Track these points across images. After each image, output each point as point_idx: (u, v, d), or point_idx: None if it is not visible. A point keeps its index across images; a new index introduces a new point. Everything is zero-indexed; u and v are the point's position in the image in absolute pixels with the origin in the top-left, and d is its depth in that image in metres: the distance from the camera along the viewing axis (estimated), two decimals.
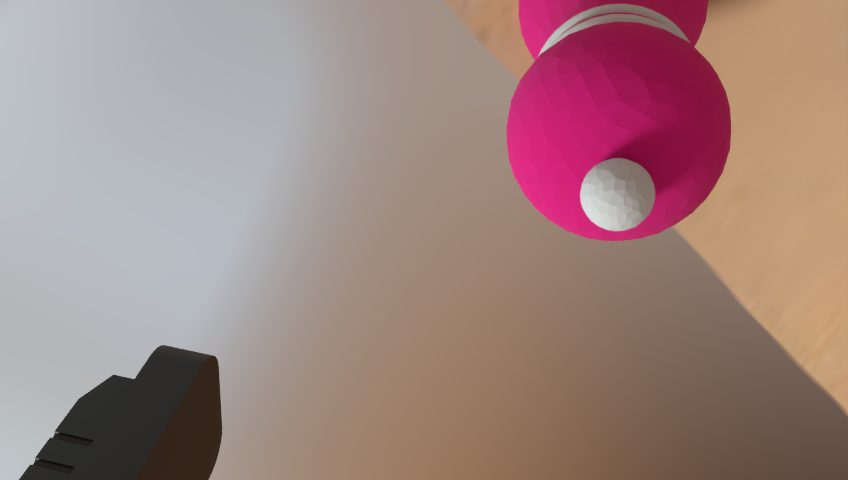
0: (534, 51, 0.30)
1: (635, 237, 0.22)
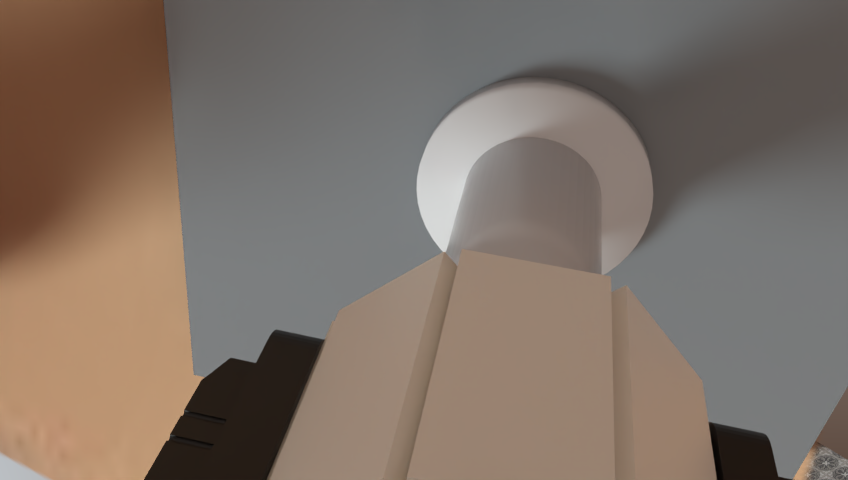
0: None
1: None
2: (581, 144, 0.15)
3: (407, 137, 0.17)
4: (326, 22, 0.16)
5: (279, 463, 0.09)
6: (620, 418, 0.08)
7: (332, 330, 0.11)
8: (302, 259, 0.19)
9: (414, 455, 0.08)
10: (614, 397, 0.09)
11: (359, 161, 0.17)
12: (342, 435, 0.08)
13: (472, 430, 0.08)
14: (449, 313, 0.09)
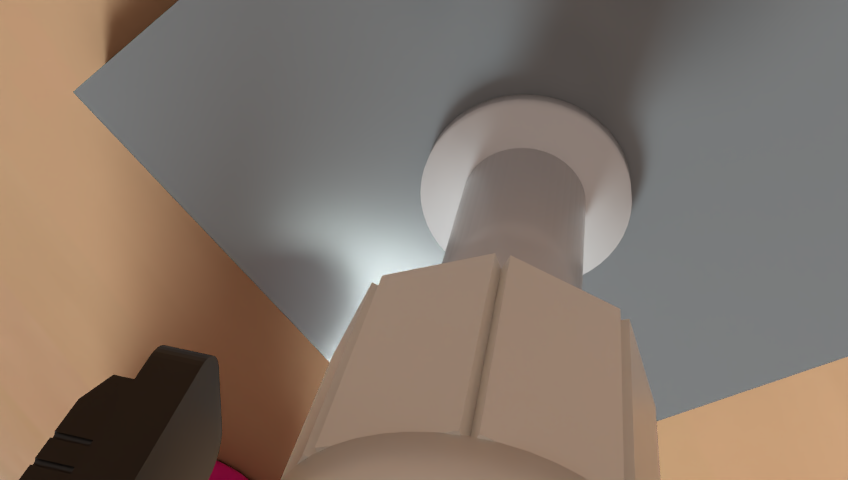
0: None
1: None
2: (514, 140, 0.17)
3: (419, 223, 0.20)
4: (309, 191, 0.20)
5: (339, 395, 0.10)
6: (624, 424, 0.10)
7: (377, 292, 0.12)
8: None
9: (481, 418, 0.09)
10: None
11: (408, 261, 0.21)
12: (407, 387, 0.10)
13: (524, 408, 0.10)
14: (504, 308, 0.11)
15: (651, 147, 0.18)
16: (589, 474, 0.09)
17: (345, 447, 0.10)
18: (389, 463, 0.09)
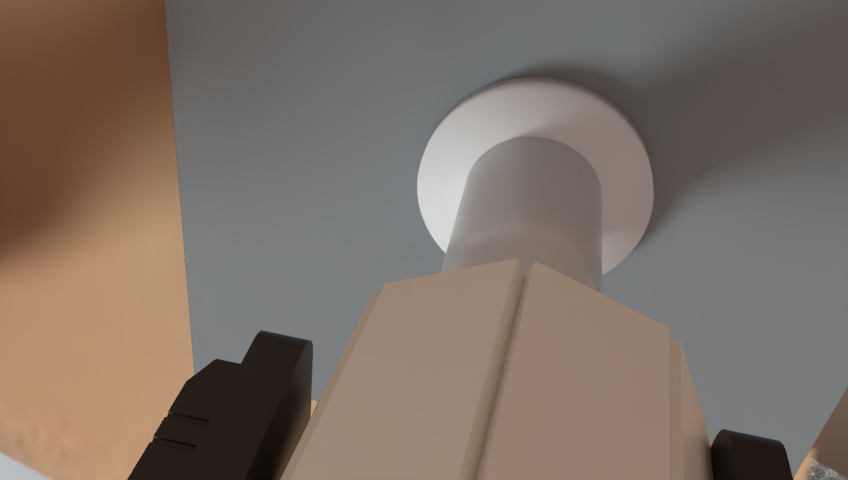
0: None
1: None
2: (582, 143, 0.15)
3: (408, 136, 0.17)
4: (327, 21, 0.16)
5: (505, 419, 0.08)
6: None
7: (534, 283, 0.10)
8: (303, 258, 0.19)
9: None
10: None
11: (360, 160, 0.17)
12: (594, 464, 0.08)
13: None
14: (684, 414, 0.09)
15: (667, 230, 0.17)
16: None
17: None
18: None
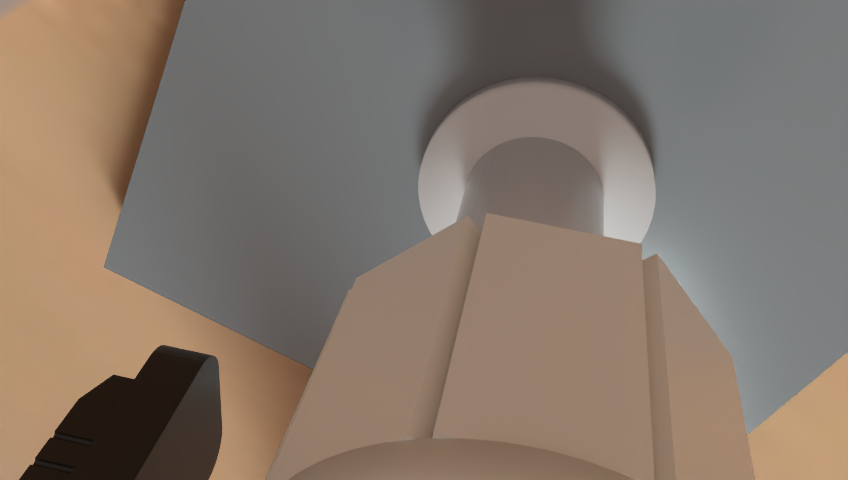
0: None
1: None
2: (489, 139, 0.16)
3: None
4: (337, 272, 0.19)
5: (457, 365, 0.08)
6: None
7: (485, 233, 0.09)
8: None
9: (667, 469, 0.07)
10: None
11: None
12: (560, 388, 0.07)
13: (700, 469, 0.07)
14: (666, 323, 0.09)
15: (639, 82, 0.15)
16: None
17: (487, 450, 0.07)
18: None
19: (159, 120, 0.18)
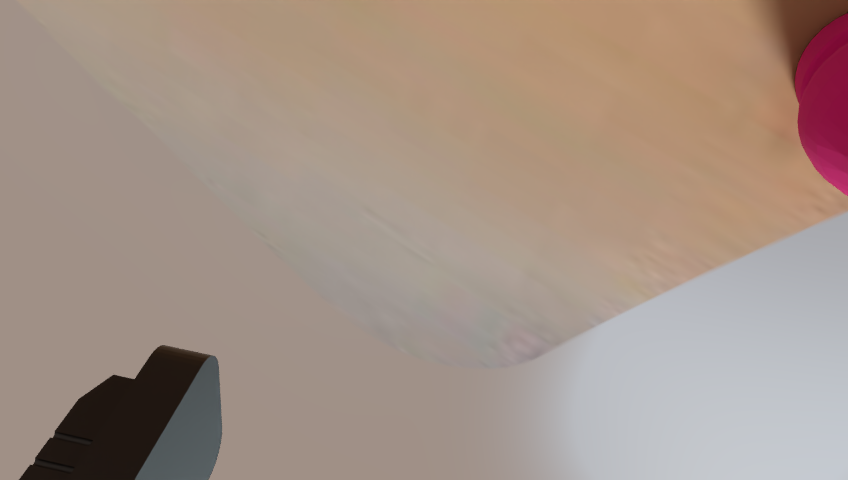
0: None
1: None
2: None
3: None
4: None
5: None
6: None
7: None
8: None
9: None
10: None
11: None
12: None
13: None
14: None
15: None
16: None
17: None
18: None
19: None
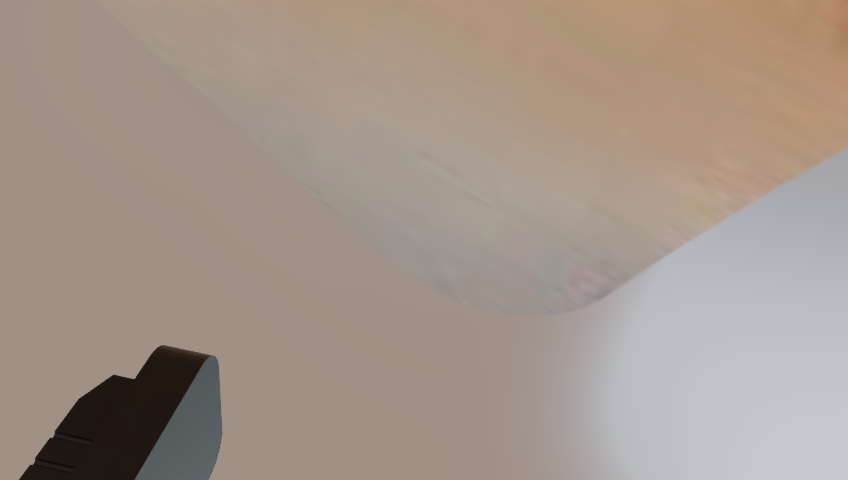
0: None
1: None
2: None
3: None
4: None
5: None
6: None
7: None
8: None
9: None
10: None
11: None
12: None
13: None
14: None
15: None
16: None
17: None
18: None
19: None
